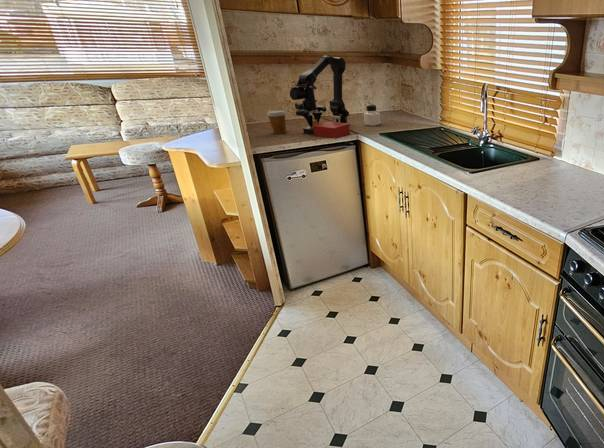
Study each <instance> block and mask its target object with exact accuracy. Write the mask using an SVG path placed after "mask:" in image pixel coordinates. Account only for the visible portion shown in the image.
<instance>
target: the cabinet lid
mask: <svg viewBox="0 0 604 448" xmlns="http://www.w3.org/2000/svg"><path fill="white" fill-rule="evenodd" d="M340 118H341V117H340V116H333V115H331V119H332V121H325V122H322V123H318V124H317V125H313V127H317V128H326V129H337V128H341V127H344V126H348V125H349V126H351V124H350V123H348V122H347V123H340ZM336 119H338V121H339V122H336Z"/></svg>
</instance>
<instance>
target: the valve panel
mask: <svg viewBox="0 0 604 448" xmlns="http://www.w3.org/2000/svg"><path fill="white" fill-rule="evenodd" d="M302 130H303V134H304V135H313V136H314V132H313V128H310V126H309V125H308V126H307V127H303V128H302Z"/></svg>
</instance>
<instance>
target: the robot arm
mask: <svg viewBox="0 0 604 448" xmlns="http://www.w3.org/2000/svg"><path fill="white" fill-rule="evenodd" d="M346 63H347V62H346V60H345V58H343V57H337V56H336V57H334V56H331V55H322V56H321V57H320V59H319V60H318V61H317V62H316V63H315V64H314V65H312V67H311V68H310V69H308V70H306V71H304V72H303V73H301V74H299V76H298V80H297V82H296V85H295V86H290V88H291V89H290V90H289V97H290V99H291V100H292V101H300V100H302V103H300V102H295V103H294V108H295V109H296V111H295V115H296V116H298V117H303V118H304V119H305V120H306V123H307V124H308V126H310V127H312V120H313V119H316V120H317V122H318V124H320V120H321V118H322V115H323V114H324V113H325V112H328V110H327V107H326V106H325V105H317V103H318V99H316V95H315V90H318V89H317V86H315V85H314V84H315V83H316V81H317V77H319V75H320V74H321V73H322V72H323V71H324V70H325V69H326V68H327V67H328V66H330V69H331V71H332V73H333V74H332V75H333V80H332V81H333V92H332V93H333V98H332V100H330V101H329V111H330V112H331V113H332V116H340V117H341V118H340V123H348V117H350V111H348V110H347V109H346V105H345V102H344V100H343V74H344V72H345V70H346ZM335 122H339V121H338V119H335Z"/></svg>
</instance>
